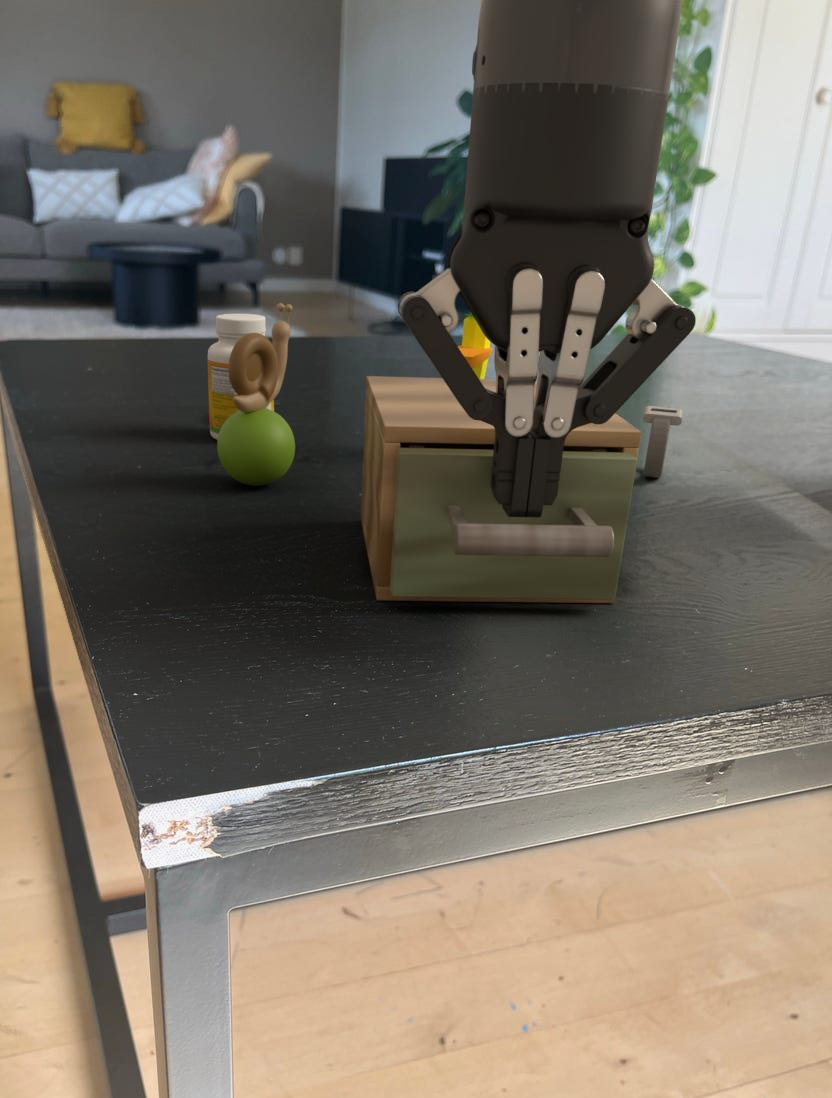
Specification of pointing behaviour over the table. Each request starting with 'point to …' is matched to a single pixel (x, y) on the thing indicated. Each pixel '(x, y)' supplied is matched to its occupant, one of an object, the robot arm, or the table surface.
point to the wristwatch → (659, 436)
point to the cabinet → (437, 418)
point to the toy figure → (475, 346)
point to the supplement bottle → (218, 360)
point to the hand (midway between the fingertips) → (521, 512)
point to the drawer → (507, 527)
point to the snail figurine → (257, 409)
